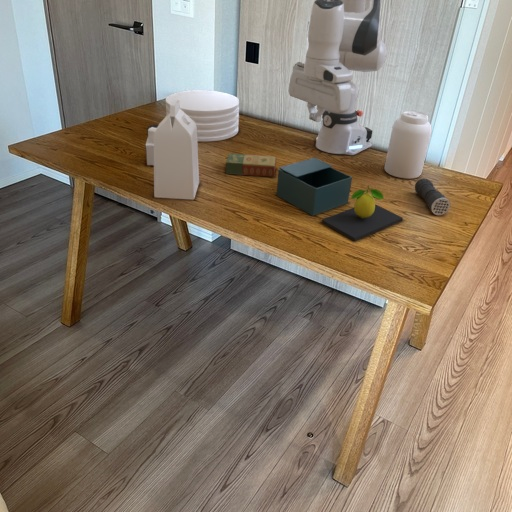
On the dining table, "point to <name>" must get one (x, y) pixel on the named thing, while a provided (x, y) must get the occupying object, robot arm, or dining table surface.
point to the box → (315, 190)
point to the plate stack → (209, 112)
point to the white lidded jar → (408, 145)
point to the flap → (305, 167)
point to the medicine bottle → (150, 144)
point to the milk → (176, 156)
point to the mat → (361, 222)
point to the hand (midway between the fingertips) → (314, 120)
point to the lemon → (365, 202)
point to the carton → (250, 165)
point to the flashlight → (432, 197)
